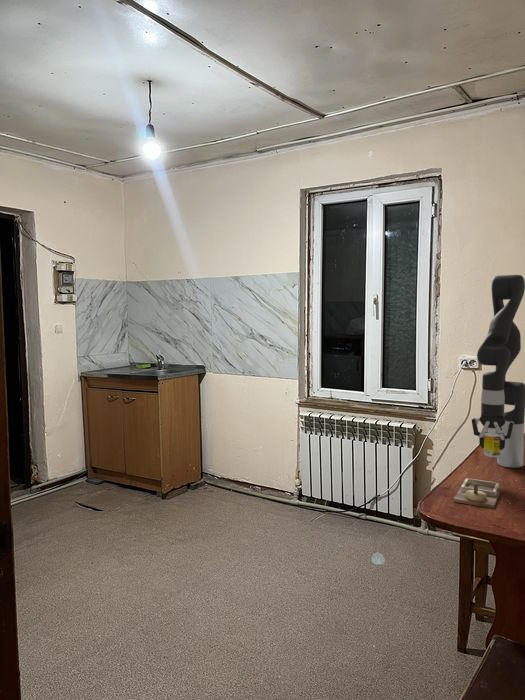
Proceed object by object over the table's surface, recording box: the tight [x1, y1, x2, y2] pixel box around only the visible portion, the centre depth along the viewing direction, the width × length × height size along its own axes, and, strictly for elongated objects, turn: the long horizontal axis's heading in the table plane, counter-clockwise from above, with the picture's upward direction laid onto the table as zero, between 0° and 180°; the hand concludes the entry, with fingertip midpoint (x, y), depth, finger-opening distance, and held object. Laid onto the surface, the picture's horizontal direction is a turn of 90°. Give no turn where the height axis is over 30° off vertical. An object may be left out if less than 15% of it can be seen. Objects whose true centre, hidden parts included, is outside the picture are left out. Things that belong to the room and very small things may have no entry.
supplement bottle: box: [483, 428, 501, 458], centre depth 186 cm, size 6×6×10 cm
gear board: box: [453, 477, 502, 509], centre depth 174 cm, size 19×12×6 cm, turn 149°
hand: (491, 448), depth 186 cm, fingers closed on supplement bottle, 5 cm apart
